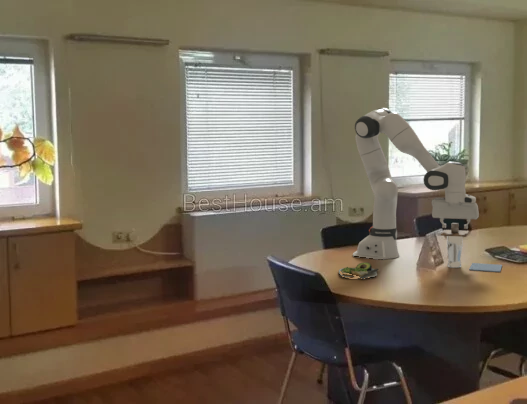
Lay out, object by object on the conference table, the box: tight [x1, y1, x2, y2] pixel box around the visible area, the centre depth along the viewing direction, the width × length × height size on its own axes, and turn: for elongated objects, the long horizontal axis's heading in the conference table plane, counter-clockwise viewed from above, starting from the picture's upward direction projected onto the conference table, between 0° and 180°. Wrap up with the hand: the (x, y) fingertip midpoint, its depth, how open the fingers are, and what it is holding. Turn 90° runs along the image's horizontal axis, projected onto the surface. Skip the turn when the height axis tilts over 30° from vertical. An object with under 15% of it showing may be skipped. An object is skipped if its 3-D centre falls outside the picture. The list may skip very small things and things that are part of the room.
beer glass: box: [446, 236, 464, 269], centre depth 303 cm, size 7×7×15 cm
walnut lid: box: [440, 222, 470, 238], centre depth 302 cm, size 11×11×5 cm
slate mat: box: [468, 262, 503, 273], centre depth 300 cm, size 13×13×1 cm
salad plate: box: [338, 262, 379, 280], centre depth 291 cm, size 19×18×5 cm
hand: (455, 228), depth 302 cm, fingers open, 8 cm apart
